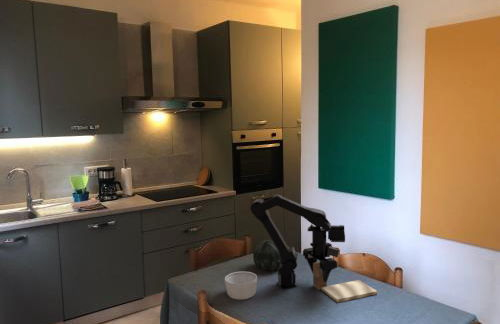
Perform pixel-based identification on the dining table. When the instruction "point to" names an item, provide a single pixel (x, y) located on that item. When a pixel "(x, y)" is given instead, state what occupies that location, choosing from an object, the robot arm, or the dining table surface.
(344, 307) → the dining table surface
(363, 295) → the birch board
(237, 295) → the ramekin
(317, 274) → the walnut block
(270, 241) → the squash
